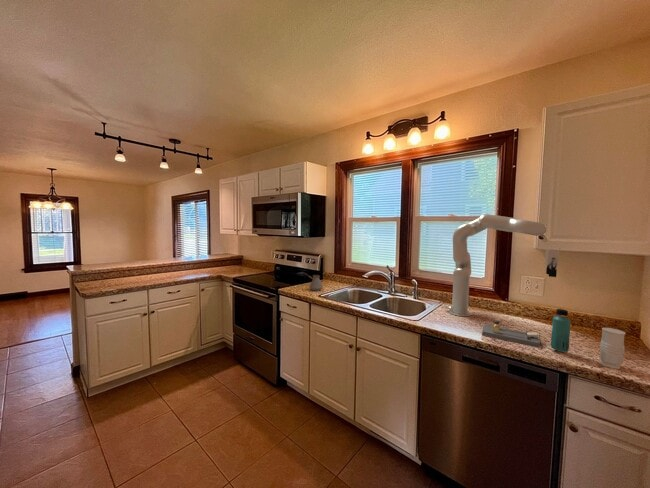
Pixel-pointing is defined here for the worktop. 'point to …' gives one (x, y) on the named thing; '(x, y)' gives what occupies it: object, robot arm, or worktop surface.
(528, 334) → the block
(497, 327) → the brass slider
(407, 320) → the worktop surface
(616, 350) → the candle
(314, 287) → the gray watering can
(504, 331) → the panel
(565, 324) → the beverage bottle
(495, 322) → the dark gray slider
